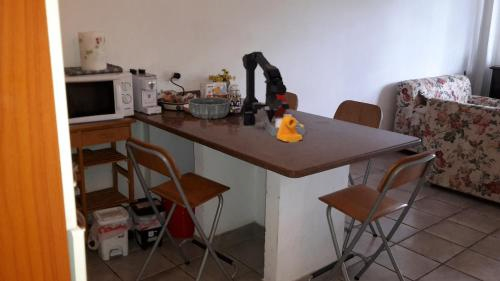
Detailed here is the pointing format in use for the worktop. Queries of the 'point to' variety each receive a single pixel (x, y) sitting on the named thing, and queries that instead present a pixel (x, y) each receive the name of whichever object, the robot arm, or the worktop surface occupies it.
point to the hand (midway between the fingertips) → (270, 122)
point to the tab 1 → (278, 122)
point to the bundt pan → (209, 107)
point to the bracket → (288, 130)
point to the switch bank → (274, 130)
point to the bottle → (280, 110)
